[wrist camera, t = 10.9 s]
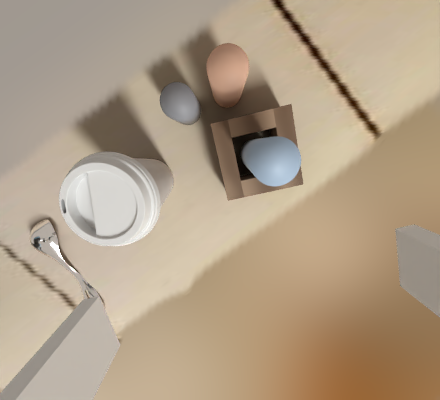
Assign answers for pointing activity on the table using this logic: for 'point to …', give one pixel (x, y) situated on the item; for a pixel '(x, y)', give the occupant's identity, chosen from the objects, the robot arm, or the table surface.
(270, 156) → the tall dowel
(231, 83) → the medium dowel
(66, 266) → the silver metal utensil
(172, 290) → the table surface
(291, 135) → the socket block
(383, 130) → the table surface
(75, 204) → the coffee cup
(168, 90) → the short dowel
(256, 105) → the table surface
